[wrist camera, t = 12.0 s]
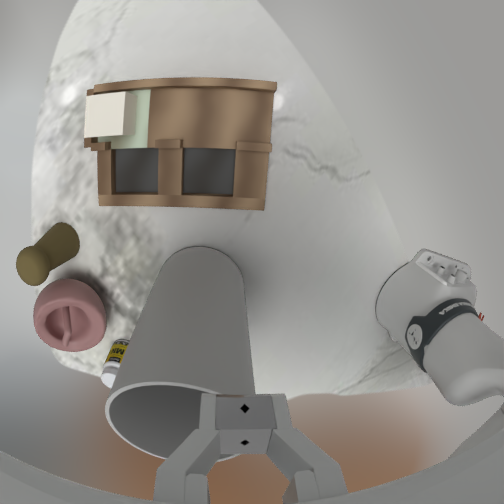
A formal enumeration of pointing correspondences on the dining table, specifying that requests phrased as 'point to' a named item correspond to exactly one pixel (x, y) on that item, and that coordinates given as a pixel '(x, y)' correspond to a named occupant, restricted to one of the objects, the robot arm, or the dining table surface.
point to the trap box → (189, 144)
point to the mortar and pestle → (69, 316)
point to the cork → (47, 254)
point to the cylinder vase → (182, 352)
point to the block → (110, 114)
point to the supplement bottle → (113, 362)
